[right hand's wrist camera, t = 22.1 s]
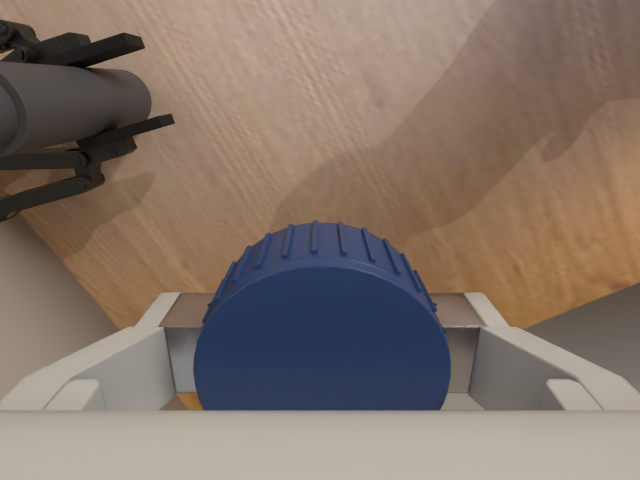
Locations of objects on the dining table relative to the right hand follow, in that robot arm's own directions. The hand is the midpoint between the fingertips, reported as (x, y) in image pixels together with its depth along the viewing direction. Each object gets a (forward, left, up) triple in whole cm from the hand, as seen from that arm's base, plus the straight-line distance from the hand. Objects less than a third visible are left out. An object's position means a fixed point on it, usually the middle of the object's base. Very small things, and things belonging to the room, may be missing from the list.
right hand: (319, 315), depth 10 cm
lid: (0, 0, +2) cm, 2 cm away
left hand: (+13, +2, -22) cm, 26 cm away
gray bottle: (+17, +6, -28) cm, 33 cm away
